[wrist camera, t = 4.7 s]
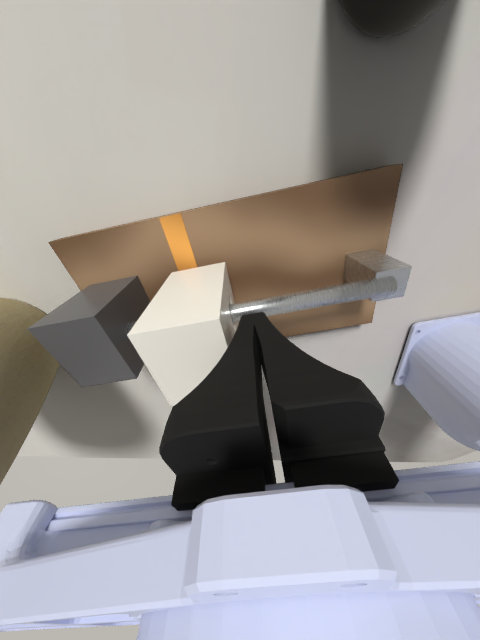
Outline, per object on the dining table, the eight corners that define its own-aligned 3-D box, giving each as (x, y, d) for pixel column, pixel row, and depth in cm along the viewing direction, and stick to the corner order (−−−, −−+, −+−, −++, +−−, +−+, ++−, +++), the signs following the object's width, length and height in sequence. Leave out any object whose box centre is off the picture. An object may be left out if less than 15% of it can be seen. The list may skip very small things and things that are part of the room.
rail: (368, 273, 17) (411, 301, 13) (134, 317, 18) (106, 353, 14) (372, 248, 15) (420, 270, 11) (123, 297, 17) (90, 330, 13)
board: (363, 314, 20) (372, 323, 19) (135, 352, 22) (128, 363, 21) (387, 165, 14) (403, 163, 13) (62, 237, 16) (47, 242, 14)
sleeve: (238, 319, 17) (241, 395, 11) (192, 327, 18) (170, 405, 11) (225, 261, 15) (219, 318, 8) (171, 272, 15) (126, 335, 9)
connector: (162, 326, 19) (136, 378, 14) (121, 334, 19) (81, 387, 14) (137, 275, 16) (94, 316, 11) (90, 284, 16) (27, 328, 11)
